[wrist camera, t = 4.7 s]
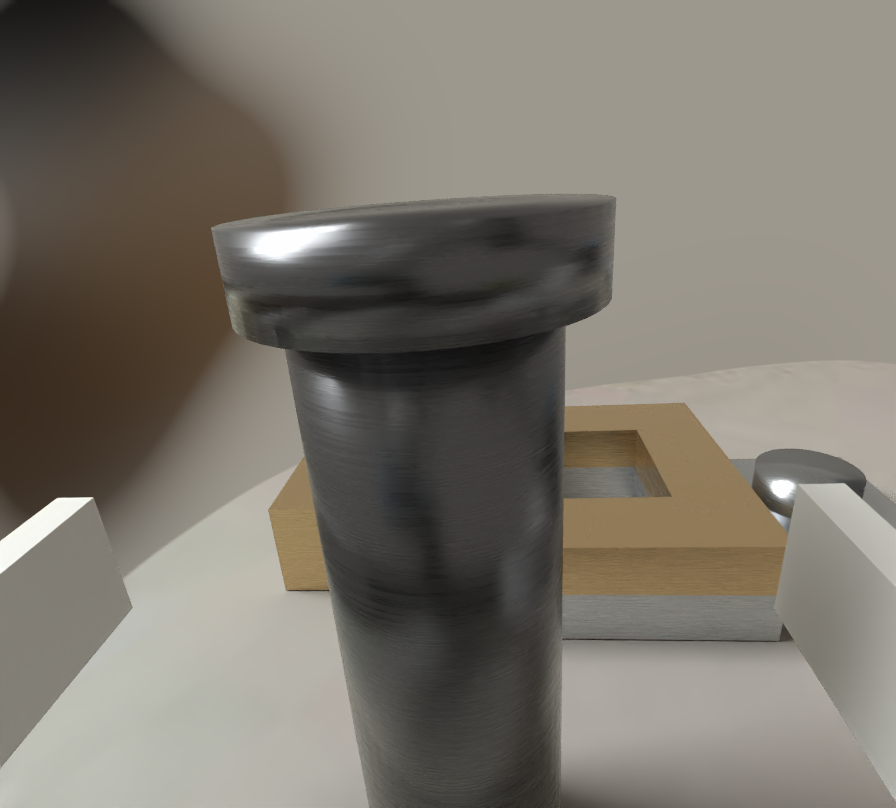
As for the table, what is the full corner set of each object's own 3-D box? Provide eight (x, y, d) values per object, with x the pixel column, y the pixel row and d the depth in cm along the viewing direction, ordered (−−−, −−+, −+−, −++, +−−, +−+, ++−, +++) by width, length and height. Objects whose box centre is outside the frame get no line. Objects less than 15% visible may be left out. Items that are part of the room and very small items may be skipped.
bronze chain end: (678, 470, 28) (685, 391, 26) (779, 640, 18) (801, 529, 16) (342, 476, 30) (331, 402, 28) (263, 635, 20) (237, 533, 18)
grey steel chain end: (806, 467, 27) (817, 410, 26) (985, 643, 17) (1016, 563, 16) (456, 474, 29) (453, 421, 28) (434, 637, 19) (427, 564, 18)
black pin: (572, 750, 15) (584, 189, 10) (606, 1021, 10) (667, 210, 5) (380, 744, 16) (293, 209, 10) (327, 1000, 11) (114, 245, 6)
